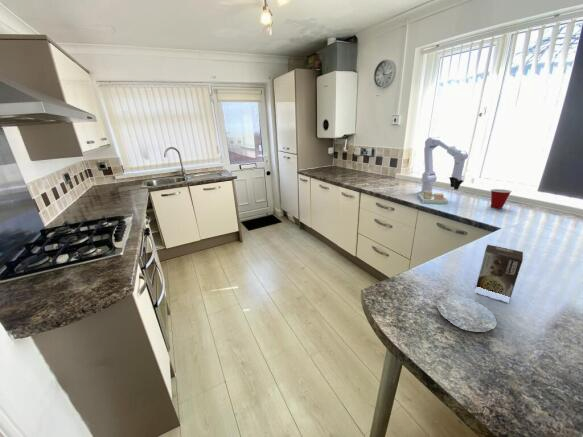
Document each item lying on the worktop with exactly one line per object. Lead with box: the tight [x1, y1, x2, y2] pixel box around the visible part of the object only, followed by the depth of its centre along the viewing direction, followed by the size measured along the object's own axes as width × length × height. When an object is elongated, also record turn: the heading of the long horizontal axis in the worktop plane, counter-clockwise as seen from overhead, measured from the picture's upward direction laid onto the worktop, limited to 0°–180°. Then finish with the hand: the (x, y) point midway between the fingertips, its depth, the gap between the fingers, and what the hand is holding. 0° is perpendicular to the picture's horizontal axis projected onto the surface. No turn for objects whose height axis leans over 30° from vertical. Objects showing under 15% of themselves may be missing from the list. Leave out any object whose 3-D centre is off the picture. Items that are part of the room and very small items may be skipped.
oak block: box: [424, 191, 433, 199], centre depth 185 cm, size 4×4×5 cm
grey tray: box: [417, 192, 449, 205], centre depth 183 cm, size 18×16×2 cm
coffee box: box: [475, 244, 524, 298], centre depth 79 cm, size 9×6×16 cm
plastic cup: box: [490, 188, 512, 210], centre depth 161 cm, size 11×11×12 cm
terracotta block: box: [434, 192, 445, 200], centre depth 178 cm, size 4×4×5 cm
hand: (454, 188), depth 176 cm, fingers open, 7 cm apart
